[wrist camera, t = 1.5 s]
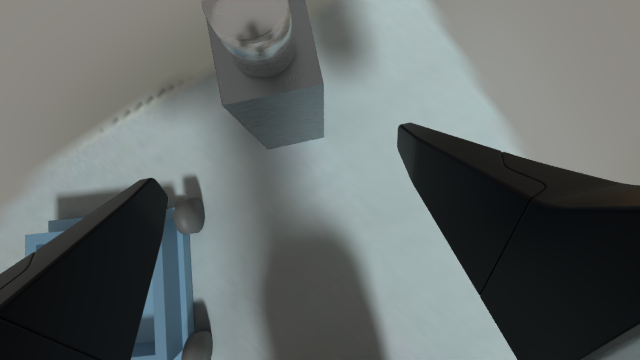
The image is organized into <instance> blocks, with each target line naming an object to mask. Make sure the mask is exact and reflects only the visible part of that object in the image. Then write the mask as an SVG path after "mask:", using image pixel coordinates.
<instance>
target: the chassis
mask: <svg viewBox="0 0 640 360" xmlns="http://www.w3.org/2000/svg"><path fill="white" fill-rule="evenodd" d="M83 218H85V217H82V218H72V219H63V220H53V221H48V229H49V233H41V234H31V235H25V257H27V256H28V255H30V254H31V253H33V252H36V250H37V249H39V248H40V247H42V246H43V245H45V244H46V243H48V242H49V241H50V240H52V239H53V238H55V237H56V236H58V235H59V234H61V233H62V232H64V231H65V230H67V229H68V228H70V227H71V226H73V225H74V224H76V223H77V222H79V221H80V220H82V219H83ZM204 219H205V214H204V208H203V205H202V203H201V201H200V200H199V199H198V198H188V199H181V200H179V201H178V202H177V204H176V206H175V208H167V211H166V218H165V225H164V232H163V237H162V242H161V246H160V250H159V253H158V257H157V261H156V265H155V269H154V273H153V276H152V280H151V284H150V288H149V292H148V296H147V299H146V303H145V307H144V311H143V315H142V319H141V323H140V326H139V330H138V334H137V338H136V342H135V346H134V349H133V353H132V357H131V360H211V356H212V336H211V334H210V332H209V331H201V332H195V328H194V310H193V292H192V274H191V256H190V238H189V234H191V233H198V232H200V231H201V229H202V228H203V225H204Z"/></svg>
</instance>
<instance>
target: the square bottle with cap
mask: <svg viewBox="0 0 640 360" xmlns="http://www.w3.org/2000/svg"><path fill="white" fill-rule="evenodd" d="M202 7H203V11H204V14H205V16H206V19H207V24H208V30H209V35H210V40H211V47H212V52H213V58H214V63H215V69H216V74H217V80H218V85H219V91H220V96H221V102H222V106H223V107H224V108H225V109H226V110H227V111H229V112H230V113H231V114H232V115H233V116H234V117H235V118H236V119H237V120H238V121H239V122H240V123H241V124H242V125H243V126H244V127H245V128H246V129H247V130H248V131H249V132H250V133H251V134H252V135H253V136H255V137H256V138H257V139H258V140H259V141H260V142H261V143H262V144H263V145H264V146H265V147H266V148H267V149H272V148H277V147H281V146H286V145H291V144H295V143H300V142H305V141H309V140H314V139H319V138H324V84H323V79H322V75H321V70H320V66H319V61H318V57H317V52H316V48H315V43H314V39H313V34H312V30H311V25H310V21H309V16H308V12H307V7H306V3H305V0H202Z"/></svg>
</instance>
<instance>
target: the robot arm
mask: <svg viewBox="0 0 640 360" xmlns="http://www.w3.org/2000/svg"><path fill="white" fill-rule="evenodd" d="M397 147H398V151H399V153H400V156H401V158H402V160H403V163H404V165H405V167H406V170H407V172H408V174H409V177H410V179H411V181H412V183H413V185H414V187H415V188H416V190H417V192H418V193H419V195H420V197H421V198H422V200H423V202H424V203H425V205H426V207H427V208H428V210H429V212H430V213H431V215H432V217H433V218H434V220H435V222H436V223H437V225H438V227H439V228H440V230H441V232H442V234H443V235H444V237H445V239H446V240H447V242H448V244H449V245H450V247H451V249H452V250H453V252H454V254H455V255H456V257H457V259H458V260H459V262H460V264H461V265H462V267H463V269H464V270H465V272H466V274H467V275H468V277H469V279H470V280H471V282H472V284H473V286H474V287H475V289H476V291H477V292H478V294H479V295H480V298H481V299H482V301H483V303H484V304H485V306H486V308H487V309H488V311H489V313H490V314H491V316H492V318H493V319H494V321H495V323H496V324H497V326H498V328H499V329H500V331H501V333H502V334H503V336H504V338H505V339H506V341H507V343H508V345H509V346H510V348H511V350H512V351H513V353H514V355H515V356H516V358H517V360H640V186H639V185H630V184H623V183H618V182H614V181H609V180H606V179H602V178H598V177H594V176H589V175H586V174H582V173H578V172H574V171H570V170H566V169H562V168H558V167H554V166H550V165H547V164H543V163H540V162H536V161H532V160H529V159H526V158H522V157H519V156H515V155H512V154H509V153H506V152H501V151H499V150H496V149H493V148H490V147H487V146H483V145H480V144H477V143H474V142H471V141H468V140H464V139H461V138H458V137H455V136H452V135H448V134H445V133H442V132H439V131H436V130H432V129H429V128H426V127H423V126H420V125H417V124H413V123H405V124H401V125H399V127H398V139H397ZM167 203H168V197H167V194H166V193H165V191H164V190H163V189H162V187H161V186H160V185H159V183H158V182H157V181H156V180H155V179H154V178H147V179H142V180H139V181H138V182H136V183H135V184H133V185H132V186H130V187H129V188H128V189H126V190H125V191H123V192H122V193H120V194H119V195H117V196H116V197H114V198H113V199H111V200H110V201H108V202H107V203H105V204H104V205H102V206H101V207H99V208H98V209H96V210H95V211H93V212H92V213H90V214H89V215H88V216H86V217H85V218H83V219H82V220H80V221H79V222H77V223H76V224H74V225H73V226H71V227H70V228H68V229H67V230H65V231H64V232H62V233H61V234H59V235H58V236H56V237H55V238H53V239H52V240H50V241H49V242H48V243H46V244H45V245H43V246H42V247H40V248H39V249H37V250H36V252H33V253H31V254H30V255H28V256H27V257H25V258H24V259H22V260H21V261H19V262H18V263H16V264H15V265H13V266H12V267H10V268H9V269H7V270H6V271H4V272H3V273H1V274H0V360H131V357H132V353H133V349H134V346H135V342H136V338H137V334H138V330H139V326H140V323H141V319H142V315H143V311H144V307H145V303H146V299H147V296H148V292H149V288H150V284H151V280H152V276H153V273H154V269H155V265H156V261H157V257H158V253H159V250H160V246H161V242H162V237H163V232H164V225H165V218H166V211H167Z"/></svg>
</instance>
